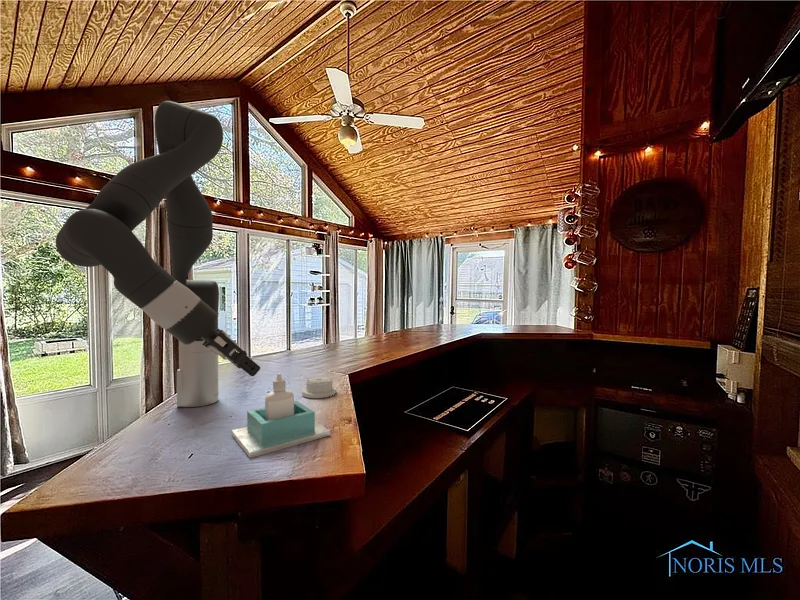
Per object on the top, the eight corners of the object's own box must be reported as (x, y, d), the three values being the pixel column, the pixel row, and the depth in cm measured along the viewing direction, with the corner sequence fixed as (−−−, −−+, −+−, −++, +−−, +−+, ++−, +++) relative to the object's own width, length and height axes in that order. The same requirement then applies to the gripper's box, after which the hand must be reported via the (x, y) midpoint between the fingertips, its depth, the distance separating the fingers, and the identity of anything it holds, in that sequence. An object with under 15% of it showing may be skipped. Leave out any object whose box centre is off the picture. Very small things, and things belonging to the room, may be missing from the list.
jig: (249, 458, 62) (249, 430, 62) (231, 435, 72) (231, 411, 72) (330, 435, 72) (330, 411, 72) (304, 417, 82) (304, 397, 82)
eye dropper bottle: (291, 434, 70) (290, 376, 69) (263, 435, 69) (261, 376, 68) (296, 425, 74) (295, 370, 73) (269, 425, 74) (268, 371, 73)
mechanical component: (295, 398, 98) (328, 400, 96) (295, 382, 98) (329, 384, 96) (310, 388, 107) (340, 390, 106) (310, 374, 107) (341, 376, 106)
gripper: (206, 297, 56) (276, 359, 64) (192, 296, 67) (252, 349, 75) (167, 332, 53) (246, 392, 60) (159, 325, 64) (226, 376, 71)
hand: (249, 368), depth 68 cm, fingers open, 8 cm apart
